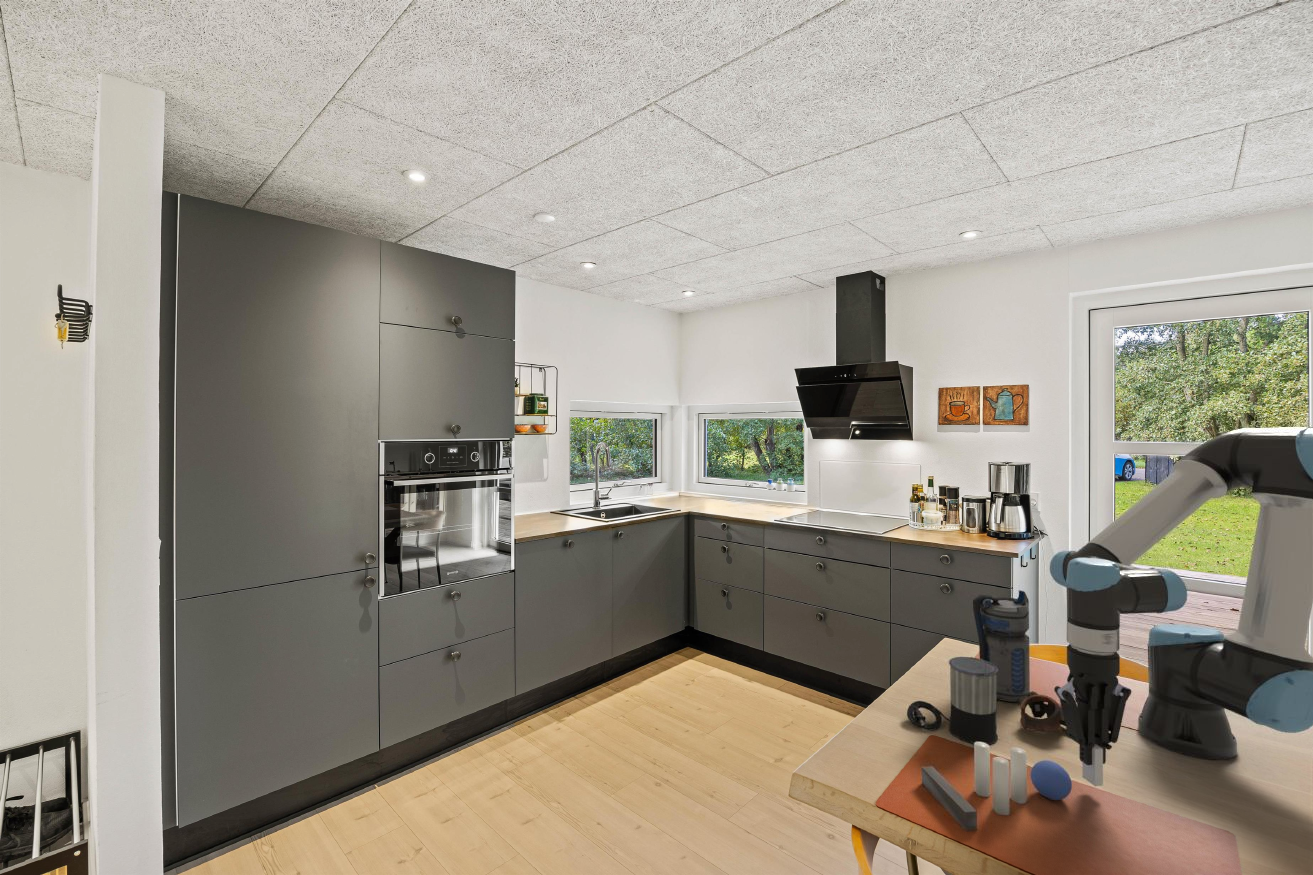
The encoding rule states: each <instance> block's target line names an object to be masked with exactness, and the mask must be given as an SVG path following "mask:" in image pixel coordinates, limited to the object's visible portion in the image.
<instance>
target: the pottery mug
mask: <svg viewBox="0 0 1313 875" xmlns="http://www.w3.org/2000/svg"><path fill="white" fill-rule="evenodd" d="M1020 703H1021V704H1020V707H1019V708H1020V709H1019V710H1020V724H1021V725H1020V726H1021V727H1022V729H1023V730H1024V731H1026V730H1029V731H1030V730H1032V731H1035V732H1041V733H1042V732H1045V731H1046V732H1050V731H1053V730H1058V731H1063V729H1062V726H1065V727H1066V725H1065V721H1064V716H1063V712H1062V707H1061V703H1059V702H1057V701H1056V699H1054V698H1053V697H1050V696H1049V695H1046V694H1038V692H1036V691H1034V690H1030V692H1029V693H1028V694H1027V698H1026V699H1024V700H1023V701H1021V702H1020ZM1028 706H1029V709H1030V710H1031V714H1032V716H1031V715H1030V714H1028V713H1027V712H1026V708H1027V707H1028ZM1045 715H1046V717H1044V716H1045ZM1043 717H1044V718H1043Z"/></svg>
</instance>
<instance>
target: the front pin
mask: <svg viewBox="0 0 1313 875" xmlns="http://www.w3.org/2000/svg"><path fill="white" fill-rule="evenodd" d="M1009 751H1010V752H1009V760H1010V761H1009V782H1010V800H1012V801H1013V802H1014V803H1017V804H1021V805H1022V804H1026V803H1027V800H1028V799H1027V798H1028V797H1027V796H1028V793H1027V791H1028V790H1027V788H1028V786H1027V784H1028V783H1027V776H1028V775H1027V772H1028V771H1027V751H1026V750H1025V749H1023V748H1021V747H1017V746H1013V747H1010V748H1009Z"/></svg>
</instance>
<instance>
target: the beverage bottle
mask: <svg viewBox="0 0 1313 875" xmlns="http://www.w3.org/2000/svg"><path fill="white" fill-rule="evenodd" d="M1029 602H1030V601H1029V598H1028V596H1027V594H1026V591H1024V590H1018V597H1017V598H1015V597H1009V596H1004V595H1003V596H1001V595H1000V596H999V595H998V596H997V595H995V596H993V595H990V594H979V595H977V596H976V597H975V598H974V599H973V600H972V610H973V615H974V622H975V625H976V633H977V638H978V646H979V659H982V660H984V661H987V662H990V663H992V664H993V665H995V666H996V667H997V669H998V671H997V673H996V700H1000V701H1004V702H1010V703H1017V702H1018V703H1019V702H1020V703H1021V702H1022V701H1023V700H1024V699H1026V698H1027V694H1028V693H1029V692H1031V689H1030V688H1031V687H1030V686H1031V685H1030V683H1031V682H1030V681H1031V680H1030V677H1031V675H1030V674H1031V673H1030V664H1031V662H1030V637H1029V635H1028V634H1026V633H1027V631H1029V629H1030V608H1029V606H1030V605H1029V604H1030V603H1029Z"/></svg>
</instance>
